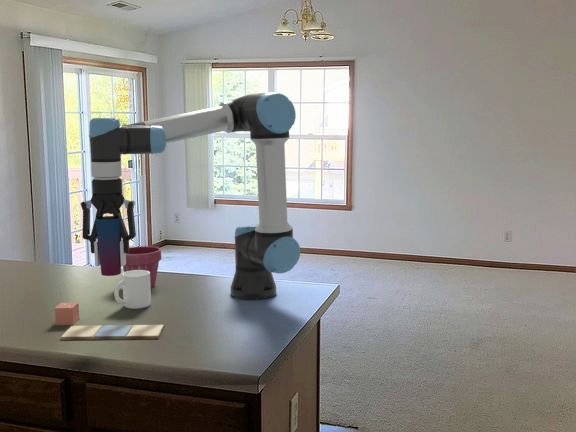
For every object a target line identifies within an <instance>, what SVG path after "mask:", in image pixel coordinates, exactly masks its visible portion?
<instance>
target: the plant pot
mask: <svg viewBox="0 0 576 432" xmlns="http://www.w3.org/2000/svg"><path fill="white" fill-rule="evenodd" d="M161 260H162V249H161V247H158V246H148V245H146V246H132V247H130V246H129V252H128V253H126V265H125V266H122V269H123V273H124V272H127V271H131V270H146V271H149V272H150V287H151V288H153V287H156V281H157V276H158V271H159V270H158V269H159V263H160V261H161Z"/></svg>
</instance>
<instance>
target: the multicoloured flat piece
mask: <svg viewBox="0 0 576 432" xmlns="http://www.w3.org/2000/svg"><path fill="white" fill-rule="evenodd" d="M164 329H165V325H164V324H133V325H132V324H119V325H118V324H116V325H115V324H114V325H111V324H110V325H108V324H107V325H103V324H102V325H70V327H69V328H68V329H67V330H66V331H65V332H64V333H63V334H62V335H61V337H59V338H60V341H70V340H71V341H74V340H75V341H78V340H81V341H85V340H87V341H88V340H89V341H90V340H91V341H92V340H146V339H147V340H151V339H153V340H154V339H156V340H159V339H160V337H161V335H162V333H163V331H164Z"/></svg>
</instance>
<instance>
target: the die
mask: <svg viewBox="0 0 576 432" xmlns="http://www.w3.org/2000/svg"><path fill="white" fill-rule="evenodd" d="M79 305H80V304H79V302H60V303H59V304H58V305H56V306H55V307H54V317H55V318H54V320H55V326H75V325H76V323H77V322H78V321H79V320H80V306H79Z"/></svg>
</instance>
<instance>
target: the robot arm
mask: <svg viewBox="0 0 576 432" xmlns="http://www.w3.org/2000/svg"><path fill="white" fill-rule="evenodd" d="M296 114H297V113H296V109H295V106H294V104H293V102H292V100H291V99H290V98H289V97H288V96H287V95H285V94H283V93H279V92H276V91H275V92H272V91H268V92H262V93H249V94H246V95H244V96H243V95H242V96H240V97H237V98H234V99H231V100H227V101H221V102H220V103H219V104H218V106H214V107H209V108H205V109H204V108H203V109H199V110H195V111H189V112H185V113H179V114H174V115H173V114H172V115H167V116H165V117H159V118H154V119H149V120H145V121H141V122H134V123H130V124H124V123H123V124H121V123H120V119H119V118H117V117H93V118H91V119H90V121H89V126H88V127H89V134H88V137H89V150H90V172H91V173H90V174H91V177H92V178H93V179H92V180H91V188H92V189H91V190H92V191H91V193H92V196H91V198H90V199H89V200H83V201H82V202H80V207H81V210H82V239H83V240H87V241H89V244H90V252H91V254H94V266H95V267H99V266H100V258H99V249H98V240H97V230H96V222H95V219H98V220H102V217H103V216H105V214H109V215H112V216H114V218H115V219H120V218H122V220H121V219H120V234H121V237H122V241H120V257H121V267H123V266H125V265H126V253H128V252H129V248H130V241H131V240H133V239H135V238H136V236H137V233H136V223H135V222H136V221H135V213H134V212H135V211H134V208H135V205H136V201H135V200H128V199H125V197H124V195H123V194H124V193H123V179H122V178H120V177H122V155H147V154H148V155H154V154H155V155H156V154H161V153H163V152H164V151H165V150H166V148H167V147H166V146H167V144H171V143H175V142H179V141H183V140H184V141H185V140H188V139H193V138H197V137H202V136H207V135H212V134H215V133H216V134H217V133H221V132H225V133H227V134H230V133H236V132H249V133H250V134H249V135H250V139H249V140H250V141H251V142H252V143H253V144H254V145H255V155H256V177H257V197H258V216H259V217H258V220H259V223H256V224H246V225H239V226H237V227H236V228H235V230H234V255H235V256H234V257H235V258H234V259H235V261H234V262H235V263H234V264H235V272H234V275H233V278H232V281H231V284H230V295H231V296H232V297H233V298H237V299H241V300H263V299H264V300H265V299H268V298H272V297H274V296H275V295H277V286H276V285H277V284H276V282H275V280H274V279H275V278H274V275H273V273H275V274H285V273H288V272H290V271H292V269H294V267H296V265H297V264H298V262H299V259H300V256H301V246H300V244H299V242H297V240H296V239H295V238H294V229H293V226H292V225H291V224H290V223H289V221H288V202H287V201H288V200H287V182H286V181H287V177H286V175H287V174H286V153H285V152H286V151H285V150H286V148H285V145H286V143H287V142H288V140H289V139H290V130H291V129H292V127H293V126H294V124H295V122H296V117H297V116H296ZM123 205H124V207H125V209H126V218H127V226H128V230H127V227H126V225H125V221H124V219H123V217H122V212H121V208H122V206H123ZM92 206H93V207H94V208H95V209H96V213H95V218H94V222H93V226H92V229H91V208H92Z"/></svg>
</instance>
